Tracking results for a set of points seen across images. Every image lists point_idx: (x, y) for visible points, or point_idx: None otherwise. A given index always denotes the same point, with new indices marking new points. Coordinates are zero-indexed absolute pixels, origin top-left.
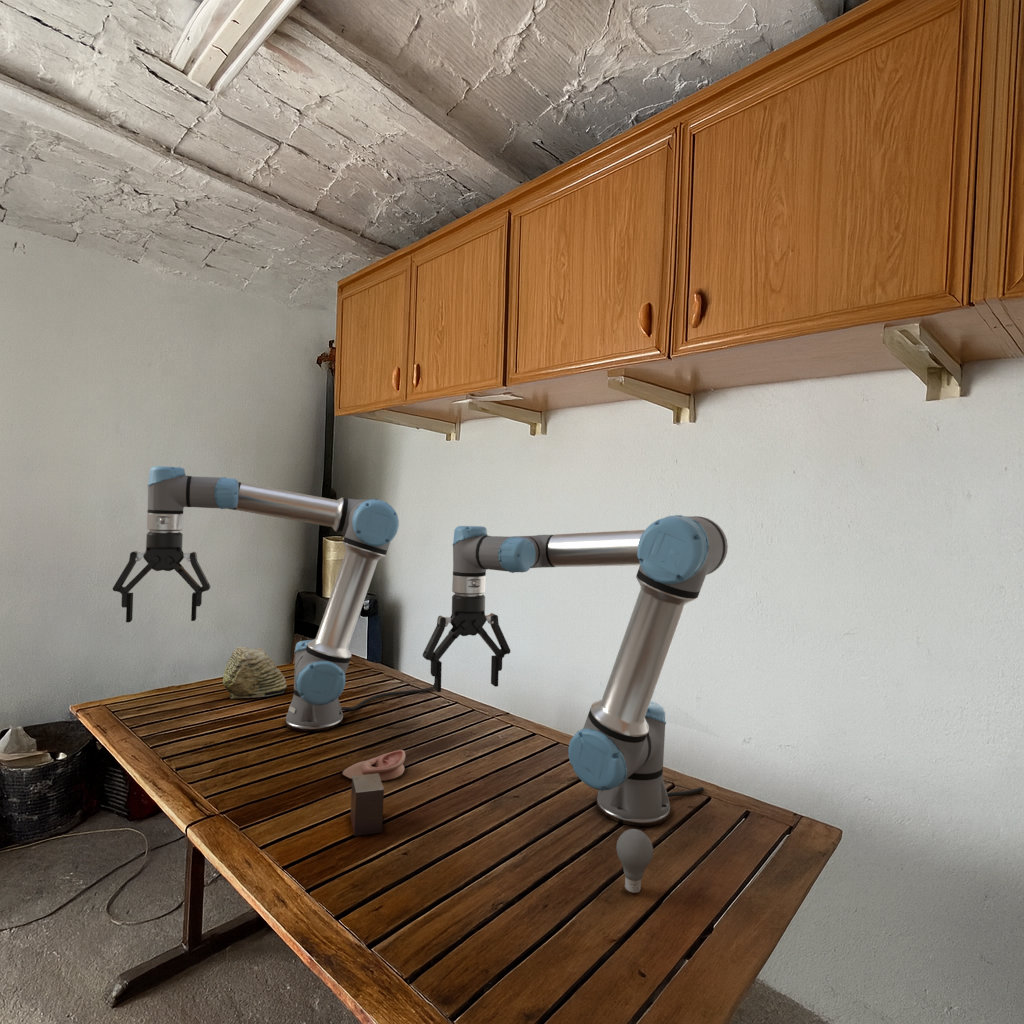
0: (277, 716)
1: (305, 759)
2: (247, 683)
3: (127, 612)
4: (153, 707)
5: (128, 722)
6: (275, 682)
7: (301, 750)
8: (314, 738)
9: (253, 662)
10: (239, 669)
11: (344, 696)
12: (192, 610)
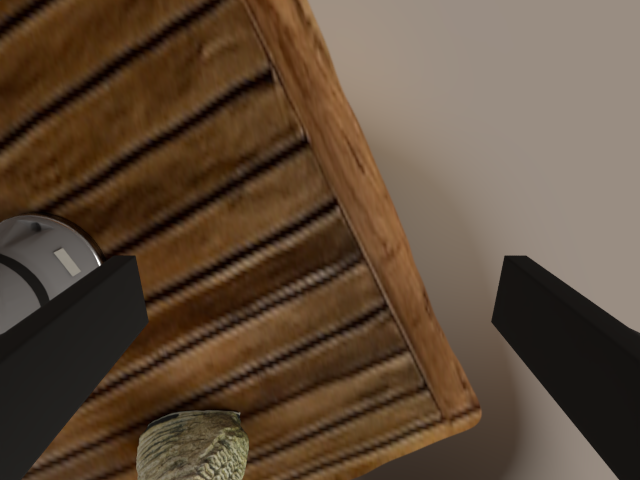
0: None
1: (22, 64)
2: (199, 430)
3: (562, 287)
4: (364, 395)
5: (394, 333)
6: (151, 439)
7: (43, 118)
8: (32, 180)
9: (171, 471)
10: (204, 454)
11: None
12: (83, 291)
